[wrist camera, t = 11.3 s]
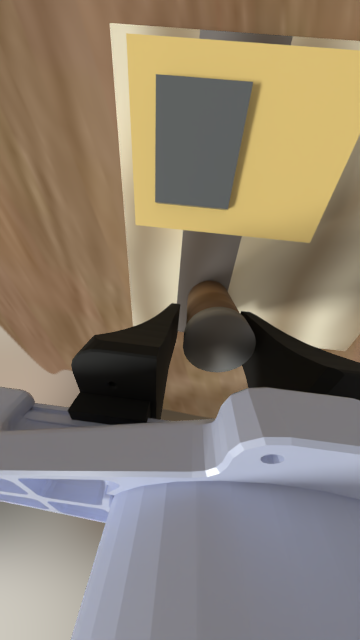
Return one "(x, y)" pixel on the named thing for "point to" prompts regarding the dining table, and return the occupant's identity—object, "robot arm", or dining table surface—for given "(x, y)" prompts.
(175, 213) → the stud finder
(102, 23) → the dining table surface
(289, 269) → the panel
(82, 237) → the dining table surface
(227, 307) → the brown cylindrical piece
